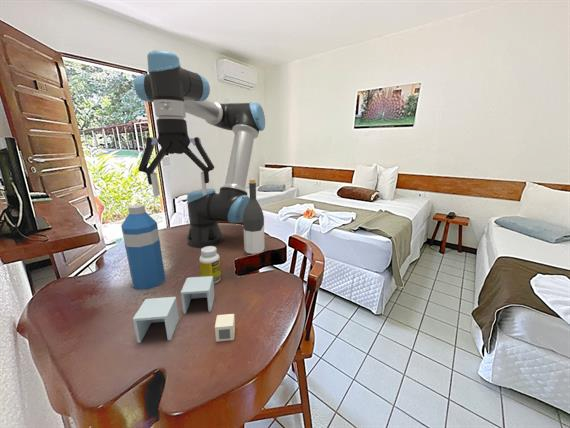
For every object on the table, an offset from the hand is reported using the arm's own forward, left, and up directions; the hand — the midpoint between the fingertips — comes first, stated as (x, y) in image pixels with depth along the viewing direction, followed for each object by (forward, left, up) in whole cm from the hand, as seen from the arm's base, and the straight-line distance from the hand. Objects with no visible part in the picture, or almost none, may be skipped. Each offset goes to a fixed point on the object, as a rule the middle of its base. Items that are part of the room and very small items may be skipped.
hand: (181, 194), depth 73 cm
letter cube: (+24, +18, -28) cm, 41 cm away
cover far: (+14, +8, -28) cm, 32 cm away
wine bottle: (-19, +18, -28) cm, 39 cm away
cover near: (+24, +2, -28) cm, 37 cm away
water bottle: (+3, -12, -28) cm, 31 cm away
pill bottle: (+1, +7, -28) cm, 29 cm away
